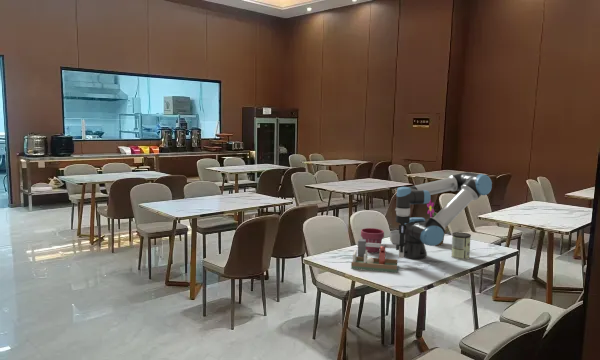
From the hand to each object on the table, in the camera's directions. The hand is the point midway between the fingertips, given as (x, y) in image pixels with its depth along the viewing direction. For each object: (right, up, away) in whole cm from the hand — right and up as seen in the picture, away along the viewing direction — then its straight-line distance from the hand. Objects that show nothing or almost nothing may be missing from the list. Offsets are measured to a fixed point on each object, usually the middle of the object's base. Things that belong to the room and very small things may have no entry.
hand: (401, 256), depth 249 cm
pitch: (-15, -5, -2) cm, 16 cm away
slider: (-12, -3, -2) cm, 12 cm away
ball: (-18, -1, -5) cm, 19 cm away
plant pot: (-12, -1, +28) cm, 30 cm away
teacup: (+8, +1, +48) cm, 48 cm away
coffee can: (+39, -3, +16) cm, 42 cm away
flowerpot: (+33, 0, +47) cm, 57 cm away
